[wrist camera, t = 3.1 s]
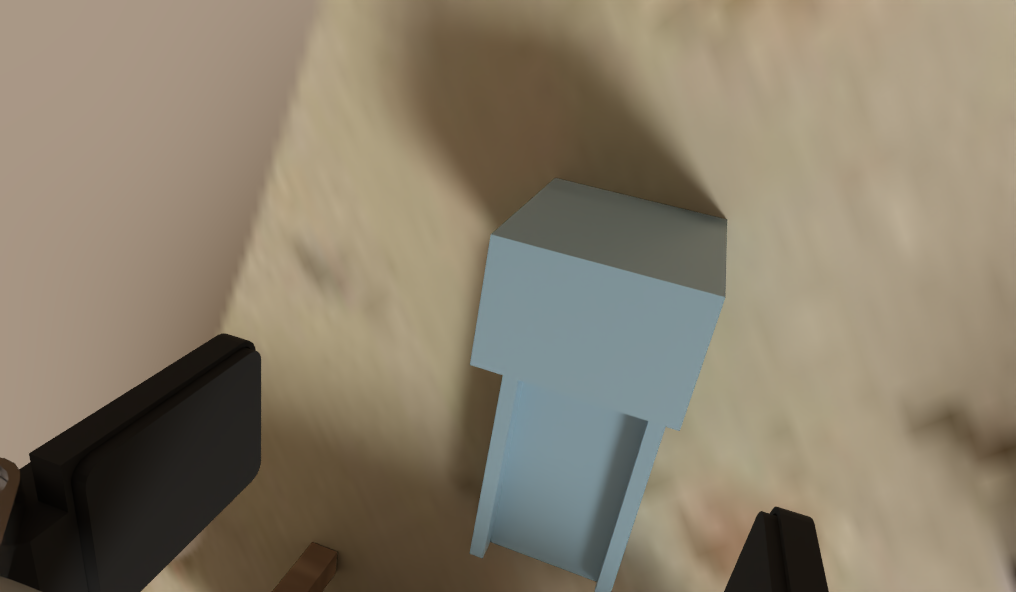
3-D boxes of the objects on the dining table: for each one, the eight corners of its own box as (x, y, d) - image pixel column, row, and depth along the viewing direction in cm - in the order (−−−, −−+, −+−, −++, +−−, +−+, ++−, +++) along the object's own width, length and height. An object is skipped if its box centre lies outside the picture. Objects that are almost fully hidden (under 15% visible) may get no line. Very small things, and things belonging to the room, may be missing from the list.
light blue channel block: (555, 177, 23) (490, 234, 17) (727, 219, 22) (725, 297, 15) (488, 514, 30) (425, 642, 24) (616, 560, 28) (584, 708, 22)
